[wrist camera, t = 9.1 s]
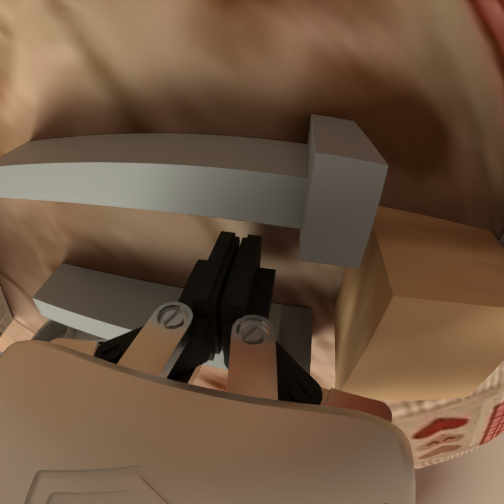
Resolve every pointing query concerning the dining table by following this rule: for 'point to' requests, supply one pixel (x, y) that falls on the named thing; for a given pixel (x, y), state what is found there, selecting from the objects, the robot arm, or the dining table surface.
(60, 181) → the chute
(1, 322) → the coffee box
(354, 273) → the block
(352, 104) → the dining table surface
